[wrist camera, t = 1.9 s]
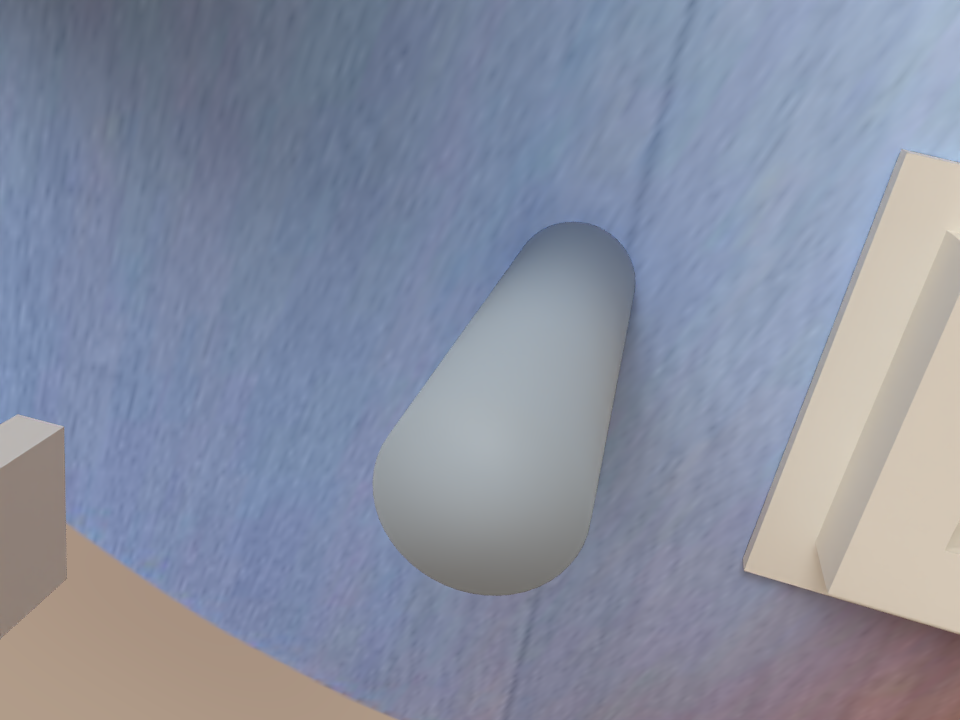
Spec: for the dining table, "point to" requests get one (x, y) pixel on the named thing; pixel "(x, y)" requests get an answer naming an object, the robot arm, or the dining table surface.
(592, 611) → the dining table surface
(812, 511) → the socket
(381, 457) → the peg
